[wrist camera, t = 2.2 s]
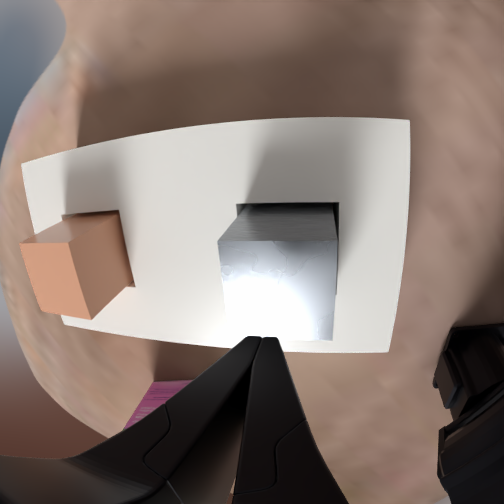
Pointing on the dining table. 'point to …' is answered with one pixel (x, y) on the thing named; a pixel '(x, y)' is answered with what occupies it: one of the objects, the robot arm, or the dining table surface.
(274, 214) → the metallic grey block
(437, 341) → the dining table surface
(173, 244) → the white rectangular block
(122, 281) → the peach square block
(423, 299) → the dining table surface
